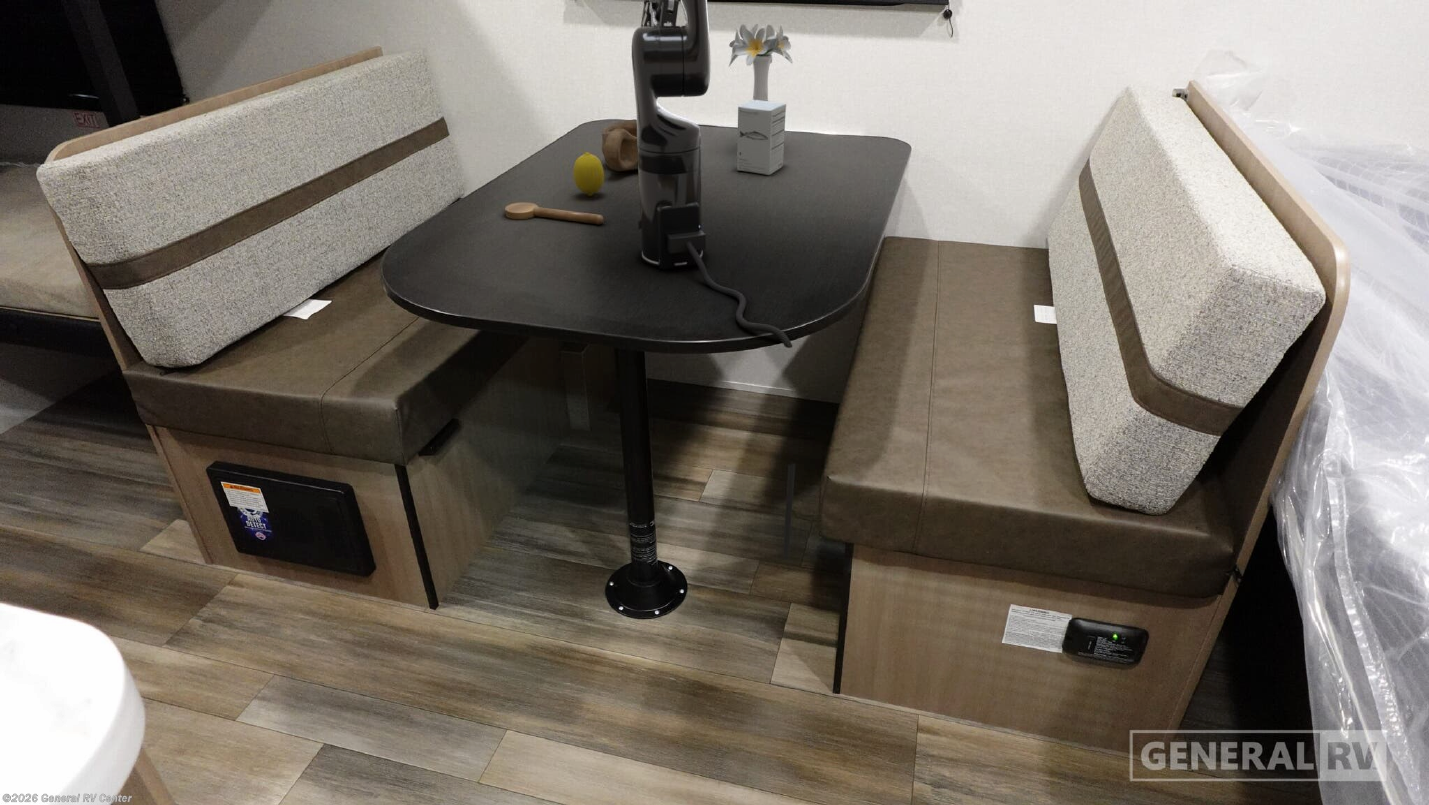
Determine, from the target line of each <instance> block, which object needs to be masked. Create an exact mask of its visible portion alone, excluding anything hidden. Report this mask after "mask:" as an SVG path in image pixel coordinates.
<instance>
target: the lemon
mask: <svg viewBox="0 0 1429 805" xmlns="http://www.w3.org/2000/svg"><path fill="white" fill-rule="evenodd" d="M572 172H573V173H572V174H573V182H574V184H575V185H576V187H577V189H578V190H579V191H581V192H582V193H585V194H586V195H587V196H589V197H593V195H594V194H595V193H596V192H598V191H600V189H602V187H603V185H604V181H605V170H604V166H603V164H602V161H601V159H599V158H598V157H597V156H596V155H594V154H591V153H590V152H588V151H586V152H585V153H584V154H582V155H580V156H579V157H578V158H576V160H575V162H574V165H573V171H572Z"/></svg>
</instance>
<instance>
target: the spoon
mask: <svg viewBox="0 0 1429 805" xmlns="http://www.w3.org/2000/svg"><path fill="white" fill-rule="evenodd" d="M504 212H505V216H506V217H507V218H509V219H512V220H527V219H531V218H532V219H533V218H535V217H538V218H546V219H554V220H562V221H570V222H577V223H584V224H593V225H601V224H603V223H604V217H603V215H602V214H595V213H588V212H582V211H581V212H580V211H573V210H564V209H556V208H548V207H541V206H538V205H537V204H536V203H533V202H515V203H511V204H508V205H506V207H504Z"/></svg>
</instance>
